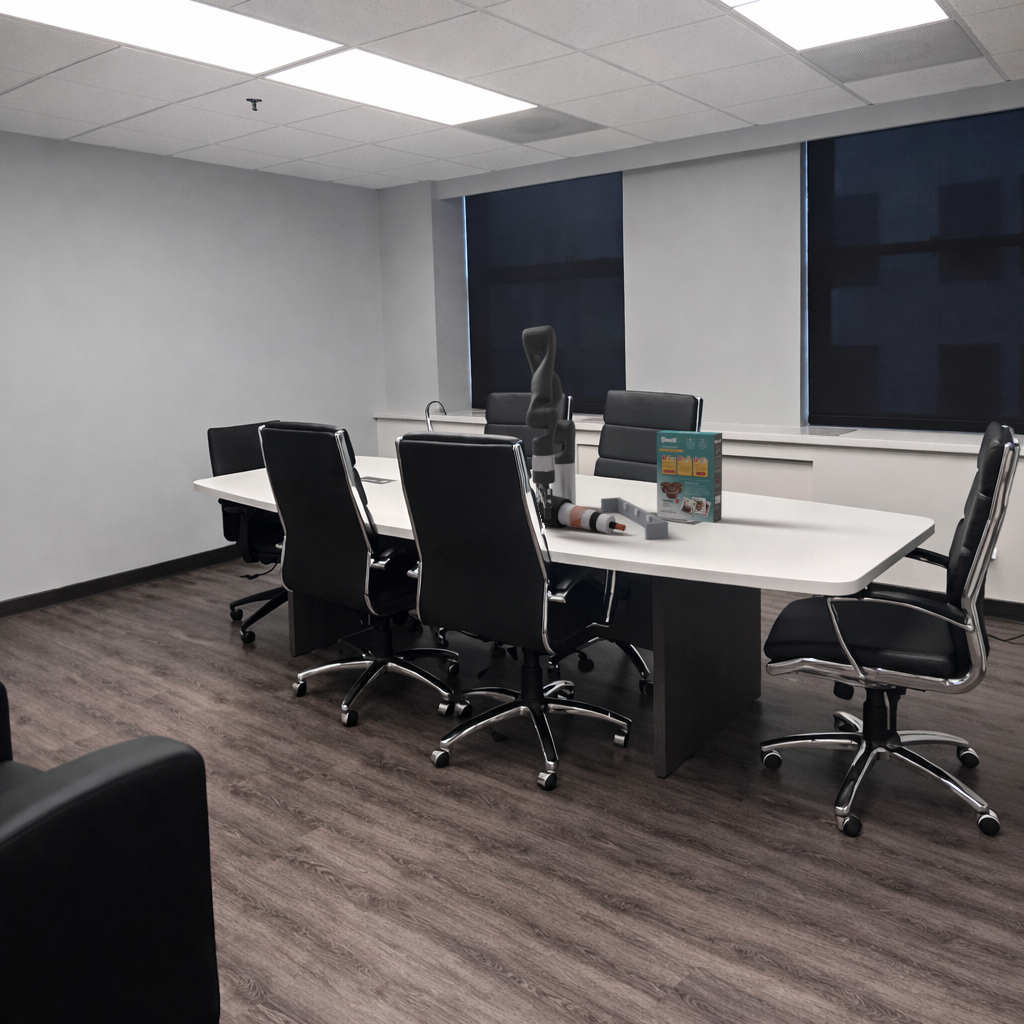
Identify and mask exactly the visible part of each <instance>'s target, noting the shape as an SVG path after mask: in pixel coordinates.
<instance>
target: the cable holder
mask: <svg viewBox="0 0 1024 1024" xmlns="http://www.w3.org/2000/svg"><path fill="white" fill-rule="evenodd" d="M600 504H601V505H600V507H601V508H600V512H601V513H604V514H607V513H619V514H620V515H622V516H624V517H626V518H628V519H629V520H630V521H633V522H634V523H636V524H638V525H639V526H641V527H643V528H644V531H645V532H644V538H645V539H644V540H657V539H658V540H659V539H668V538H669V522H668V521H666V520H664V519H662V518H661V517H657V515H654V514H653V513H650V512H649V511H646V510H645V509H643V508H641V507H639V506H637V505H635V504H633V503H631V502H630V501H628V500H626V499H623V498H621V497H608V498H607V497H605V498H601V499H600Z"/></svg>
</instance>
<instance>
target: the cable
mask: <svg viewBox="0 0 1024 1024" xmlns="http://www.w3.org/2000/svg"><path fill="white" fill-rule="evenodd" d="M547 503H549V502H547ZM537 504H539V503H538V502H537ZM541 519H542V523H541V524H544V525H548V526H553V527H557V528H566V527H567V526H570V527H572V528H578V529H583V530H589V531H595V532H598V533H599V532H600V533H603V534H604V533H605V534H608V535H609V534H611V533H613V531H614V530H615V531H616V530H617V531H621V532H625V531H626V530H627V529H626V528H627V526H626V524H624V523H620V522H617V521H616V517H615V516H614V515H612V514H607V513H602V512H601V511H597V510H594V509H591V508H588V507H583V506H580V505H577V504H576V505H573V503H572V501H571V500H570V499H567V498H562V497H558V496H554V495H553V507H552V508H551V519H545V518H544V515H541Z"/></svg>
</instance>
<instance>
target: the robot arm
mask: <svg viewBox="0 0 1024 1024" xmlns="http://www.w3.org/2000/svg"><path fill="white" fill-rule="evenodd" d="M521 337H522V338H521V340H522V345H523V349H524V352H525V354H526V358H527V361H528V363H529V367H530V372H531V374H532V377H531V383H530V394H531V395H530V403H529V406H528V408H527V412H526V416H525V423H526V426H527V428H528V429H530V430H533V431H534V430H536V431H537V430H544V434H543V435H539V436H535V437H534V438H533V439H532V440H531V443H532V445H531V447H532V448H531V449H532V459H531V465H532V466H531V472H532V473H531V475H532V483H533V484H534V485H535V499H536V500H537V502H538V503H539V504H538V508H539V512H540V515H544V518H545V519H551V508H552V507H553V495H554V496H558V497H562V498H567V499H570V500H571V501H572V503H573V505H577V497H576V496H577V490H576V489H577V487H576V437H577V436H576V435H577V434H576V432H577V429H576V424H575V422H574V420H572V419H559V412H558V410H557V408H558V406H559V404H560V402H562V401H561V400H562V399H563V394H564V393H563V392H564V391H563V388H562V383H561V379H560V377H559V375H558V374H557V373H556V372H555V370H554V366H555V358H556V351H557V350H556V348H557V337H556V331H555V330H554V328H553V327H552V326H551V325H543V326H533V327H530V328H525V329H524V330H523V331H522V336H521ZM539 355H544V357H543V360H542V359H541V358H540V356H539ZM555 445H557V446H558V445H562V446H563V445H564V449H562V450H561V451H559V452H557V453H555ZM547 502H549V503H547Z"/></svg>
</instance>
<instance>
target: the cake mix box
mask: <svg viewBox="0 0 1024 1024" xmlns="http://www.w3.org/2000/svg"><path fill="white" fill-rule="evenodd" d="M722 483H723V432H712V431H710V432H708V431H688V430H686V431H684V430H661V431H657V432H656V517H658V518H668V519H676V520H686V521H692V522H693V521H695V522H702V523H703V522H704V523H716V522H719V521H722V513H723V512H722V507H723V506H722V505H723V503H722V499H723V497H722V496H723V491H722V490H723V486H722V485H723V484H722Z"/></svg>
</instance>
